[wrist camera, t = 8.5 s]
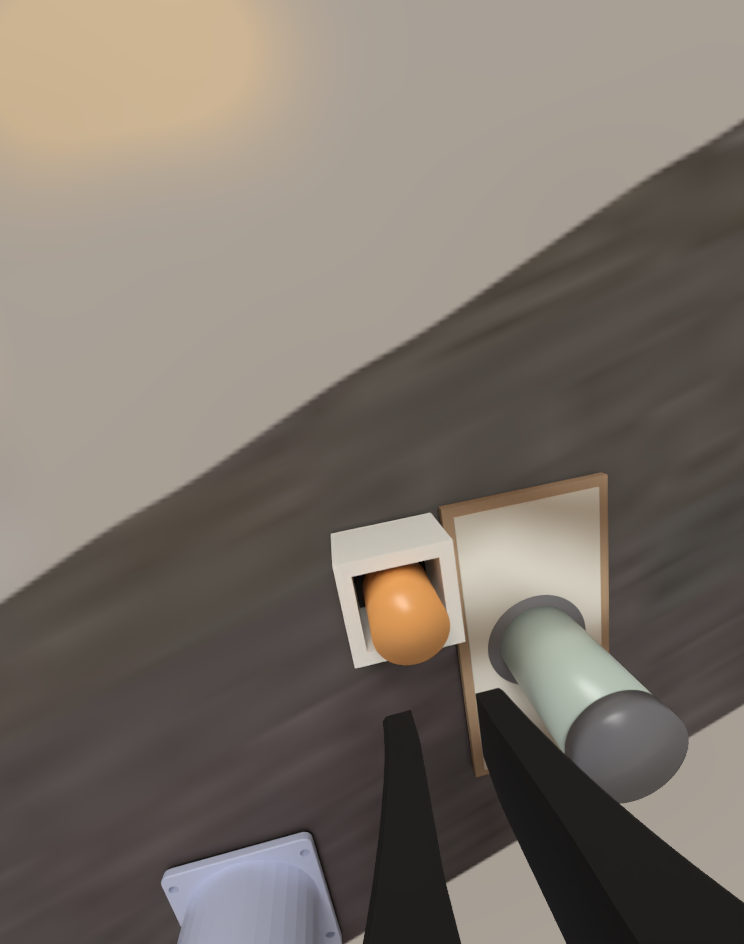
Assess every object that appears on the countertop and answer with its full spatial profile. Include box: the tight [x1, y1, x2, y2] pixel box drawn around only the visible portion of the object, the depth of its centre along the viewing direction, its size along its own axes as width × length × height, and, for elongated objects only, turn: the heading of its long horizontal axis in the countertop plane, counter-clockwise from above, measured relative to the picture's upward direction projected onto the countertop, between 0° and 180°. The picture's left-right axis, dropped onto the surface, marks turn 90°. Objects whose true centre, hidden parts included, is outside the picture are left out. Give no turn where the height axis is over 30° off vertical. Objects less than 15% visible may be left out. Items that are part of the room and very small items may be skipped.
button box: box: [331, 513, 465, 669], centre depth 16 cm, size 5×5×3 cm
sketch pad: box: [438, 472, 609, 777], centre depth 19 cm, size 16×8×1 cm, turn 10°
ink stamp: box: [500, 606, 688, 803], centre depth 16 cm, size 4×4×6 cm
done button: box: [363, 562, 450, 665], centre depth 14 cm, size 3×3×3 cm
